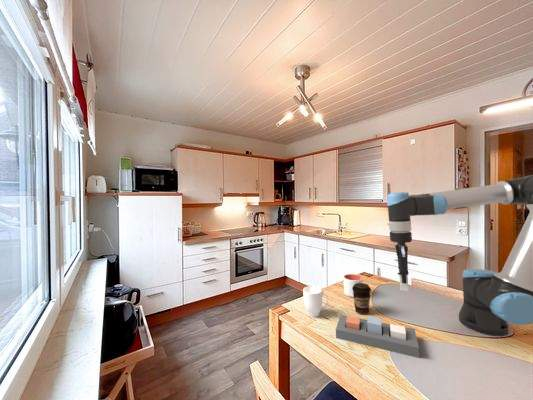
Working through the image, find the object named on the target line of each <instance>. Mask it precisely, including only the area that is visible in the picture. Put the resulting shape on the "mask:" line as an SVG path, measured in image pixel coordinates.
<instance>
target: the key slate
mask: <svg viewBox="0 0 533 400" xmlns="http://www.w3.org/2000/svg"><path fill="white" fill-rule="evenodd" d="M366 320H367V332H370V333H375V334H379V335H382V323H383V322H382V318H380V317H375V316H370V315H367V319H366Z"/></svg>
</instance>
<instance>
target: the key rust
mask: <svg viewBox="0 0 533 400" xmlns="http://www.w3.org/2000/svg"><path fill="white" fill-rule="evenodd" d="M346 316H347V320H346V327H347V328H352V329H356V330H361V328H360V319H361V318H360V317H356V316H350V315H346Z"/></svg>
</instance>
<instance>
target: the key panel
mask: <svg viewBox="0 0 533 400" xmlns="http://www.w3.org/2000/svg"><path fill="white" fill-rule="evenodd" d="M347 316H348V315H344V314H340V315H339V319H338V322H337V325H336V328H335V338H336V339H339V340H344V341H347V342H351V343H356V344H361V345H364V346H369V347H372V348H377V349H379V350H380V349H381V350H385V351H388V352H389V351H390V352H393V353H398V354H402V355H405V356H409V357H414V358H417V359H419V358H420V345H419V342H418V341H419V340H418V338H417V334H416V329H415V328H413V327H406V326H404V327H405V331H406V340H403V339H398V338H393V337H391V336H390V324H391V323H386V322H382V335H379V334H375V333H370V332H367V319H366V318H360V328H361V330H356V329H352V328H347V327H346V320H347Z"/></svg>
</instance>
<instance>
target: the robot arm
mask: <svg viewBox="0 0 533 400" xmlns="http://www.w3.org/2000/svg"><path fill="white" fill-rule="evenodd" d="M386 200H387V204H386V205H387V213H388V222H387V224H386V225H387V226H388V227H389V228H388V229H389V231H390V232H389V240H390V242H393V243H396V244H395V246H394V247H395V250H396V257H397V265H398V267H397V269H398V272H397V275H398V276H399V289H400V291H402V292H409V279H408V276H409V266H408V265H409V264H408V258H409V257H408V255H409V253H408V252H409V249H408V246H407V244H406V243H411V242H412V241H413V236H412V235H413V233H412V221H411V219H412V218H411V217H416V216H437V215H445V214H446V213H447V212H448V209H454V208H455V209H456V208H457V209H459V208H464V207H474V206H484V205H493V204H502V205H505V206H508V205H525V206H526V208H527V209H528V211H529V213H528V214H527V217H526V220H525V221H524V224H523V226H522V228H521V230H520V232H519V233H518V235H517V238H516V240H515V243H514V245H513V247H512V248H511V251H510V252H509V255H508V257H507V259H506V261H505V263H504V266H503V267H502V270H501V271H500V272H497V271H494V270H490V269H479V268H467V269H464V270H462V276H461V278H462V293H463V295H462V297H463V304H462V306H461V308H460V310H459V312H458V321H459V322H460V324H462V325H463V326H465V327H466V328H468V329H470V330H473V331H475V332H478V333H481V334H484V335H488V336H495V337H503V336H504V337H505V336H507V335H508V334H509V333H510V328H509V327H510V326H509V324H513V325H517V326H525V325H531V324H533V174H531V175H526V176H522V177H518V178H517V177H516V178H512V179H507V180H500V181H498V182H497V183H496V184H490V185H489V184H488V185H481V186H472V187H466V188H459V189H450V190H445V191H443V190H442V191H436V192H430V193H429V192H427V193H421V194H411V195H410V194H409V192H408V191H404V192H391V193H389V194H387V199H386ZM508 323H509V324H508Z"/></svg>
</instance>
